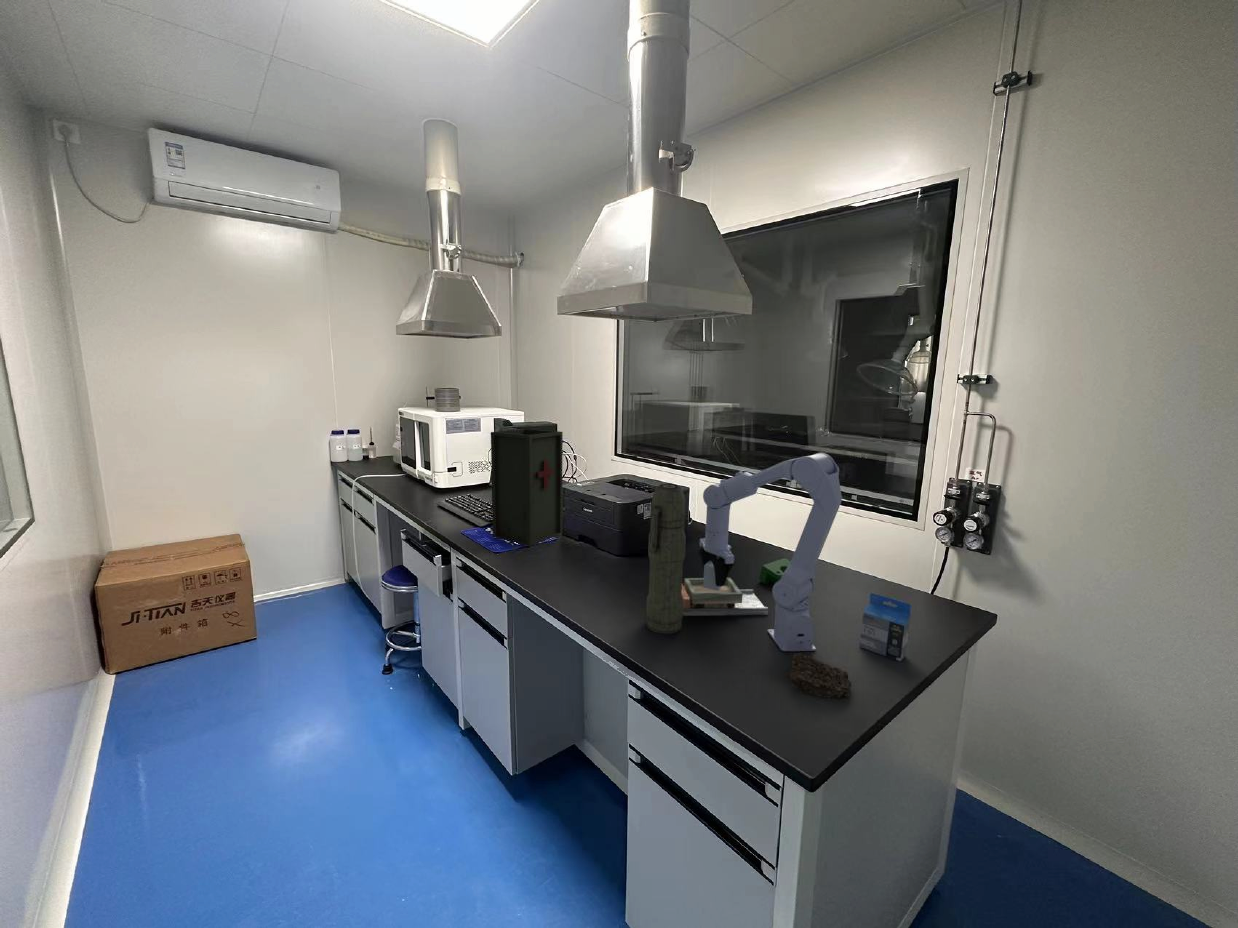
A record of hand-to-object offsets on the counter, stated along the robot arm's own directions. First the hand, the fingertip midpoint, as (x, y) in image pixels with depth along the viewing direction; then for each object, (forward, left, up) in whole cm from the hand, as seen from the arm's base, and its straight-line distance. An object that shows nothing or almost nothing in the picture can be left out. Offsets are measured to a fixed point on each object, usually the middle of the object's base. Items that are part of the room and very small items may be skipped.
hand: (714, 580), depth 132 cm
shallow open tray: (+4, -1, -7) cm, 8 cm away
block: (0, 0, -2) cm, 2 cm away
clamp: (+19, -25, -9) cm, 33 cm away
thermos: (-7, +14, -9) cm, 18 cm away
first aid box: (+66, +54, -9) cm, 86 cm away
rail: (+4, -3, -9) cm, 10 cm away
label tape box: (-21, -34, -9) cm, 41 cm away
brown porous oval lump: (-34, -13, -9) cm, 37 cm away
